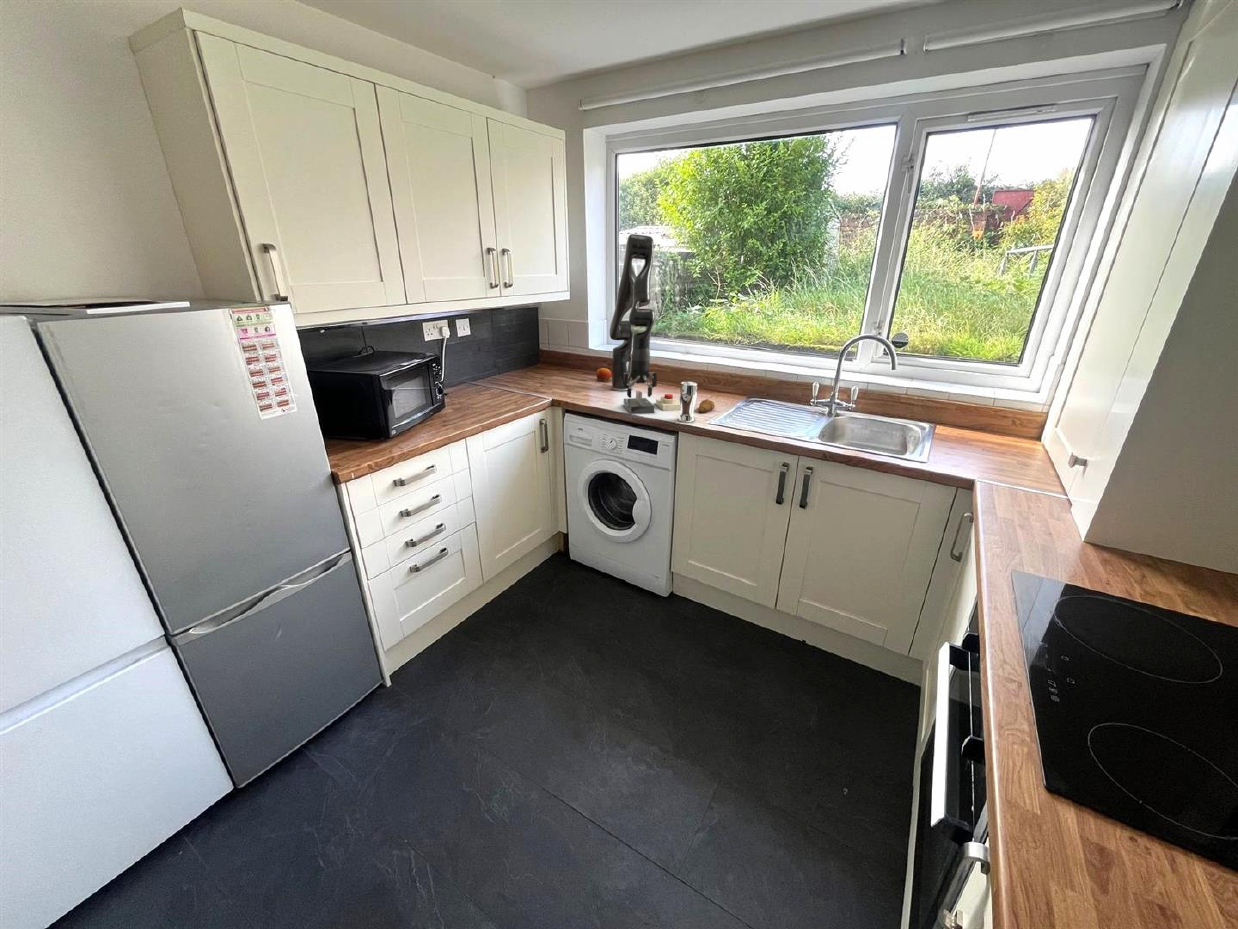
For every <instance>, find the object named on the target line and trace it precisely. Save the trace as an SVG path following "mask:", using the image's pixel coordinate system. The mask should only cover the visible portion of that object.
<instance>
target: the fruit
mask: <svg viewBox="0 0 1238 929" xmlns="http://www.w3.org/2000/svg"><path fill="white" fill-rule="evenodd" d="M595 374H596V379H597V381H598V382H605V383H607V382H608V381H609V380H610V379H611V378H612V371H611V370H610V369H608V368H607V367H606V368H605V367H601V368H599V369H597V370H596V373H595Z"/></svg>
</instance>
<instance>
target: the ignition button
mask: <svg viewBox="0 0 1238 929" xmlns="http://www.w3.org/2000/svg"><path fill="white" fill-rule="evenodd" d="M663 396H664V398H665V399H673V397H674V395H673V394H672V393H665V394H664V395H663Z"/></svg>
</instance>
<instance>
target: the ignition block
mask: <svg viewBox="0 0 1238 929" xmlns="http://www.w3.org/2000/svg"><path fill="white" fill-rule="evenodd" d="M664 396H665V395H663V396H661V397H660V398H656V399H655V405H656V406H657V407H658V408H660V409H661V410H662V411H678V410H680V402H678V401H677V397H675V396H673V399H665V398H664Z"/></svg>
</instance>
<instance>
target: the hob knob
mask: <svg viewBox="0 0 1238 929" xmlns="http://www.w3.org/2000/svg"><path fill="white" fill-rule="evenodd" d="M635 398H636V401H637V402H638V403H639V404H640V403H642V398H643V392H642V391H641V390H640V389H639V390H638V389H637V390H636V391H635Z"/></svg>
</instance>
